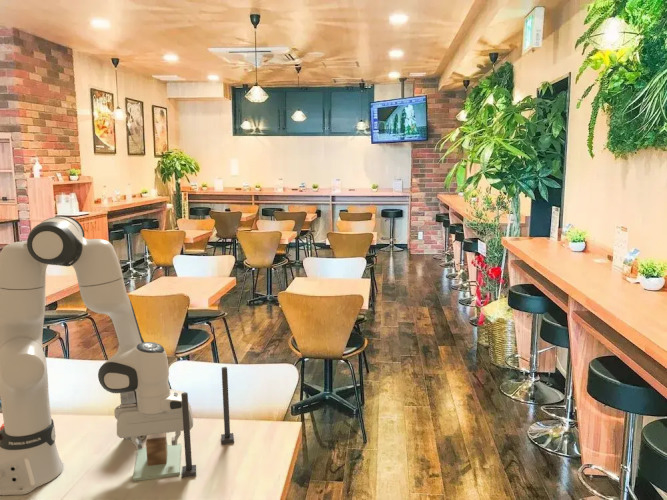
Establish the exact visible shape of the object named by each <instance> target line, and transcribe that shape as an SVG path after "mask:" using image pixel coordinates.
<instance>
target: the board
mask: <svg viewBox="0 0 667 500" xmlns="http://www.w3.org/2000/svg"><path fill="white" fill-rule="evenodd" d="M167 453H168V455H167V464H160V465H153V466H148V463H147V450H146V447H142V450H137V454H136V459H135V466H134V471H133V477H132V481H133V482H137V481H145V480H152V479H161V478H166V477H174V476H180V474H181V460H182V443H177V445H175V446H172V444H167Z"/></svg>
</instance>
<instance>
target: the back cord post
mask: <svg viewBox="0 0 667 500" xmlns="http://www.w3.org/2000/svg"><path fill="white" fill-rule="evenodd" d="M228 380H229V379H228V367H227V366H223V367H221V383H222V384H221V386H222V405H223V409H222V410H223V424H224V425H223V426H224V427H223V428H224V430H223V431H224V434H223V433H222V434H221V435H220V437H221V445H227V444H234V443H235V437H234V436H235V435H234V433H233V432H231V425H230V423H231V422H230V420H231V419H230V404H229V403H230V401H229V381H228Z"/></svg>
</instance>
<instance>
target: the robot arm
mask: <svg viewBox="0 0 667 500" xmlns="http://www.w3.org/2000/svg"><path fill="white" fill-rule="evenodd" d="M118 257H119V256H118V255H117V252H116V250H115V248H114V246H113V244H112V243H111V242H110V241H108V240H106V239H104V238H85V230H84V228H83V226H82V224H80V222H79V221H78V220H77V219H75V218H73V217H70V216H68V215H57V216H53V217H49V218H47V219H44V220H43V221H42V222H40V223H39V224H36V225H35V226H34V227H33V228H32V229H31V231H30V232H29V234H28V236H27V239H26V241H15V242H11V243H8V244H7V245H5V246H4V247H3V248H1V251H0V403H1V404H0V405H1V411H2V421H3V423H2V424H1V426H0V496H6V495H7V496H9V495H10V496H11V495H13V496H15V495H26V494H30V493H31V492H32V491H34V490H35V489H37V488H39V487H41V486H42V485H45V484H47V483H49V482H51V481H52V480H54V479H56V478H57V477H58V476H59V475H60V474H61V473H62V472H63V469H64V463H63V461H62V459H61V457H60V455H59V452H58V451H59V450H58V448H57V445H56V427H55V424H54V423H55V422H54V419H53V418H52V413H51V403H50V396H49V394H50V393H49V378H48V377H49V376H48V365H47V357H46V355H45V352H44V345H43V334H44V333H43V331H44V322H45V316H46V275H47V274H46V271H47V268H48V265H49V266H50V265H52V266H61V267H72V268H73V269H74V271H75V274H76V278H77V279H76V280H77V285H78V288H79V294H80V297H81V299H82V302H83V303H84V306H85V307H86V308H87V309H88V310H90V311H92V312H93V313H96V314H100V315H106V316H108V317H109V318H110V319H111V321H112V324H113V326H114V330H115V333H116V337H117V341H118V348H117V351H116V353H115V354H113V355H112V356H111V357H109V358H108V359H107V360H106V361H105V362H104V363H103V364H102V365H101V366H100V368H99V369H98V372H97V373H98V374H97V377H98V381H99V384H100V385H101V388H103V389H104V390H105V391H106V392H109V393H111V394H120V393H125V392H131V391H134V390H135V391H136V397H137V402H135V403H129V404H121V403H120V404H119V405H118V406H116V407H115V408H114V409H113V410H114V412H113V413H114V418H115V419H116V420H117V421H116V436H117V437H118V438H119V439H124V438H126V437H131V442H132V443H133V444H134V445H135V448H136V451H138V450H142V448H143V440H142V441H138V439H137V436H143V435H152V434H160V433H166V434H168V433H174V434H175V436H173V437H171V445H172V446H175V445H177V444H178V440H179V438H180V436H181V433H182V432H184V428H183V412H182V396H181V394H182V393H185V392H186V391H181V390H176V389H171V387H170V384H169V376H170V371H169V370H170V369H169V361H168V355H167V352H166V349H165V348H164V347H163V345H161V344H159V343H157V342H154V341H153V342H152V341H146V342H145V341H144V338H143V336H142V333H141V329H140V327H139V323H138V319H137V315H136V312H135V309H134V306H133V303H132V301H131V299H130V297H129V295H128V292H127V288H126V284H125V280H124V275H123V271H122V270H123V269H122V267H121V263H120V260H119V258H118ZM188 408H189V424H190V431H191V430H192V429H193V427H194V415H193V410H192V406H191V404H190V402H189V401H188Z"/></svg>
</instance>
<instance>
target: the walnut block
mask: <svg viewBox="0 0 667 500" xmlns="http://www.w3.org/2000/svg"><path fill="white" fill-rule="evenodd" d="M145 445H146V446H145V448H146V450H147V463H148V466H153V465H160V464H167V455H168V453H167V445H168V443H167V433H160V434H152V435H147V436H146V440H145Z"/></svg>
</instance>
